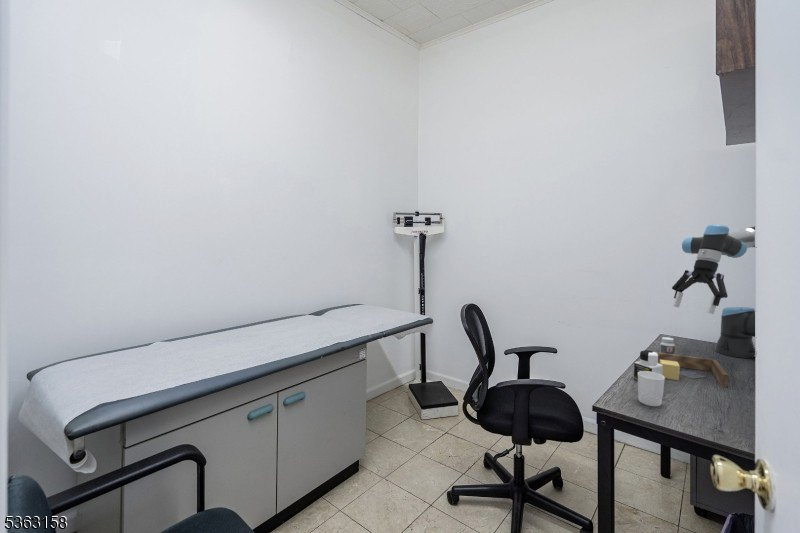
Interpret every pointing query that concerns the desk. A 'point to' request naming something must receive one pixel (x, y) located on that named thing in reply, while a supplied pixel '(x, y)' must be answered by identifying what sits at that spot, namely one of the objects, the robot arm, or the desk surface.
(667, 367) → the cube
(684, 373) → the mat
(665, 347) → the pill bottle
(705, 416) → the desk surface
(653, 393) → the white cup
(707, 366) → the angled wooden barrier
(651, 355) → the medicine bottle
